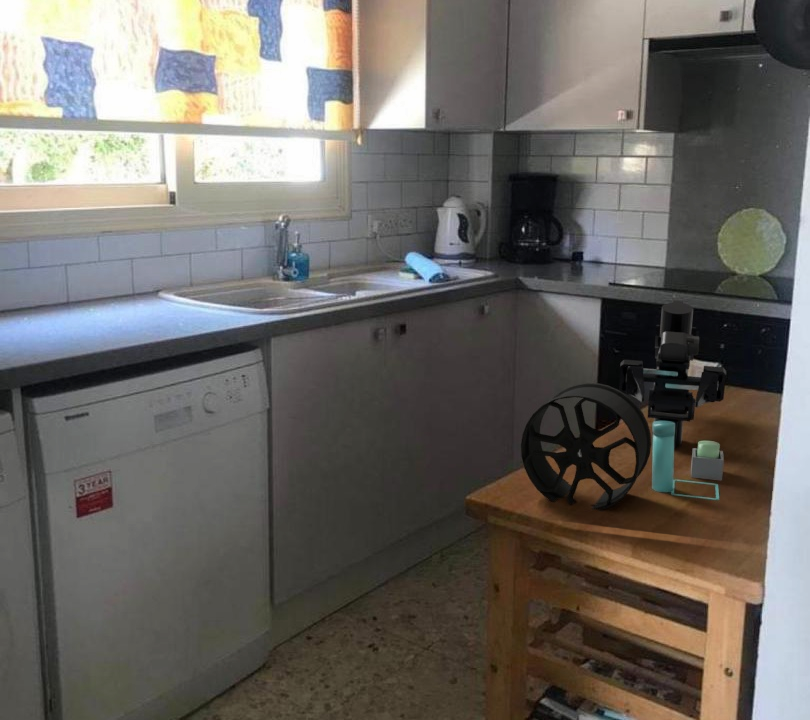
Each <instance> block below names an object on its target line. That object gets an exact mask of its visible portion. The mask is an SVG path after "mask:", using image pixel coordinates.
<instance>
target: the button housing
mask: <svg viewBox="0 0 810 720" xmlns="http://www.w3.org/2000/svg"><path fill="white" fill-rule="evenodd" d="M697 450H698V448H695V447H694V448H693V447H692V452H691V453H692V455H691V462H690V463H691V464H690V477H691V478H696V479H703V480H713V481H723V475H724V474H723V473H724V472H723V471H724V464H725V463H724V462H725V461H724V458H725V457H724V451H723V450H719V458H718V459H714V458H705V457H697Z"/></svg>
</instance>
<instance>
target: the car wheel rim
mask: <svg viewBox="0 0 810 720" xmlns="http://www.w3.org/2000/svg"><path fill="white" fill-rule="evenodd" d="M570 398H579V399H580V398H581V399H580V400H579V401H578V402H577V403H576V404H575V405H574V406H573V407H574V409H573V410H574V411H575V412H574V413H575V416H576V417H575V418H576V421H577V426H578V431H579V436H578V437H576V436H575V435H574V433H573V431H572V430H571V427H570V423H569V420H568V417H567V414H566V413H567V412H566V411H565V406H564V405H563V404H560V403H558V402H556V401H558V400H564V399H570ZM585 402H590V403H592V404H593V403H594V404H598V405H600V406H601V407H603V408H605V409H606V410H608V411H609V412H611V413H612V414H613V415H614V417H615V421H614V422H613V423H612V424H610V425H608V426H606V427H605V428H603V429H596V428H595V427H594V428H593V427H591V426H590V425H589V424H587V423H586V420H585V415H584V410H583V405H582V404H583V403H585ZM550 406H551V407H552V408H553V407H554V408H557V409H558V411H559V413H560V417H561V420H562V423H563V428H562V429H561V431H560V432H558V433H557V434H555V435H547V434H543V433H541V425H542V421H543V418H544V415H545V414H546V412H547V410H548V408H549V407H550ZM620 420H622V421H623V422H624V424H625V425H626V427H627V428H628V431H629V432H630V434H631V436H632V438H633V439H630V438H629V437H627V436H625V437H623V438H620V439H618V440H616V441H614V442H612V443H610V444H608V445H606V446H604V447H602V446H595V445H594V443H595V442H596V440H598V439H599V438H601V437H603V436H605V435H606V434H608V433H609V432H612V431H613V430H615V429H617V428H618V427H619V426H620V422H621V421H620ZM521 436H522V437H521V443H520V451H521V452H520V453H521V456H520V457H521V459H522V464H523V468H524V471H525V473H526V475H527V477H528V479H529V481H530V482H531V483H532V484H533V485H534V487H535V489H536V490H537V491H538V492H539V493H540V494H542V496H543V497H545V499H547V500H549V501H550V502H552V503H556V502H557V501H558V500H559V499H564V498H565V497H566V500H567V502H568V504H569V506H573V504H576V503H577V501H576V499H575V494H576V491H577V488H578V485H579V482H580V481H583V480H590V479H591V480H593V481H595V482H596V484H597V485H598V486H600V487H601V488H602V489H603V490H604V492H603V493H602V495H601V496H600V497H599V498H598V500H597V501H596V502H595V504H590V506H591V507H592V508H591V509H592V510H596V511H603V510H605V509H608V508H610V507H612V506H614V505H615V504H617V503H618V502H620V501H622V499H623V498H624V497H625V496H626V495H627V494H628V493H629V491H631V489H632V488H633V486H634V484H635V483H636V481H637V479H638V478H639V476H640V475H641V473H642V472H643V471H644V469H645V468H646V466H647V464H648V460H649V458H650V455H651V451H652V450H651V449H652V435H651V430H650V425H649V422H648V421H647V419H646V417H645V414H644V412H643V410H642V409H641V408H640V407H639V406H638V405H637V403H636V402H635V401H634V400H633V399H632V398H631V397H630V396H629V395H627V394H625V393H622V392H621V391H620V390H619V389H618V388H615V387H612V386H610V385H608V384H603V383H597V382H596V383H595V382H585V383H577V384H574V385H572V386H569V387H566V388H565V389H563V390H562V391H560V392H559V393H557V394H556V395H555V396H553V398H551V399H550V400H549V401H547V402H545V403H544V404H542V405H541V406H540V407H539V408H538V409H537V410H536V411H535V412H534V413H532V415H531V417H530V418H529V420H528V421H527V423H526V425H525V427H524V429H523V432H522V435H521ZM542 443H549V444H552V445H558V446H560V447H562V448H564V449H565V451H560V452H557V451H555V452H554V451H547V450H544V449H543V448H542V446H543V445H542ZM624 444H627V445H629V446H630V447H631V448H632V449H634V453H635V465H634V466H635V467H634V473H633V475H632V476H629V477H627V478H626V477H624V476H622V475H621V474H620V473H619V472H618V471H616V469H614V468H613V467H612V466H611V465H610V454H611V450H614V449H615V448H617V447H620V446H621V445H624ZM547 457H550V458H552V459H553V460H554V462H555V464H556V465H557V467H558V469H559V473H558V472H557V471H556V470H555V469H554V468H553V467H552V466H551V464H550V462H549V461H548V460H547ZM592 463H593V464H595V465H597V467H599V468H600V469H601V470H602V472H604V473H606V474H607V475H608V476H609V477H611V479H612V480H614V481H615V482H616V483H617V484H618V485H622V486H620V487H618V488H614V489H613V488H612V486H609V484H608V483H606V481H605V480H603V479H602V478H601V477H600V475H598V474H597V473H596V472H595V470H594V468H593V464H592ZM571 466H575V473H574V478H573V481H572V484H570V483H569V482H568V481H567V480H566V479H564V476H565V473H566V471H567V469H568V468H570V467H571Z"/></svg>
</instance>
